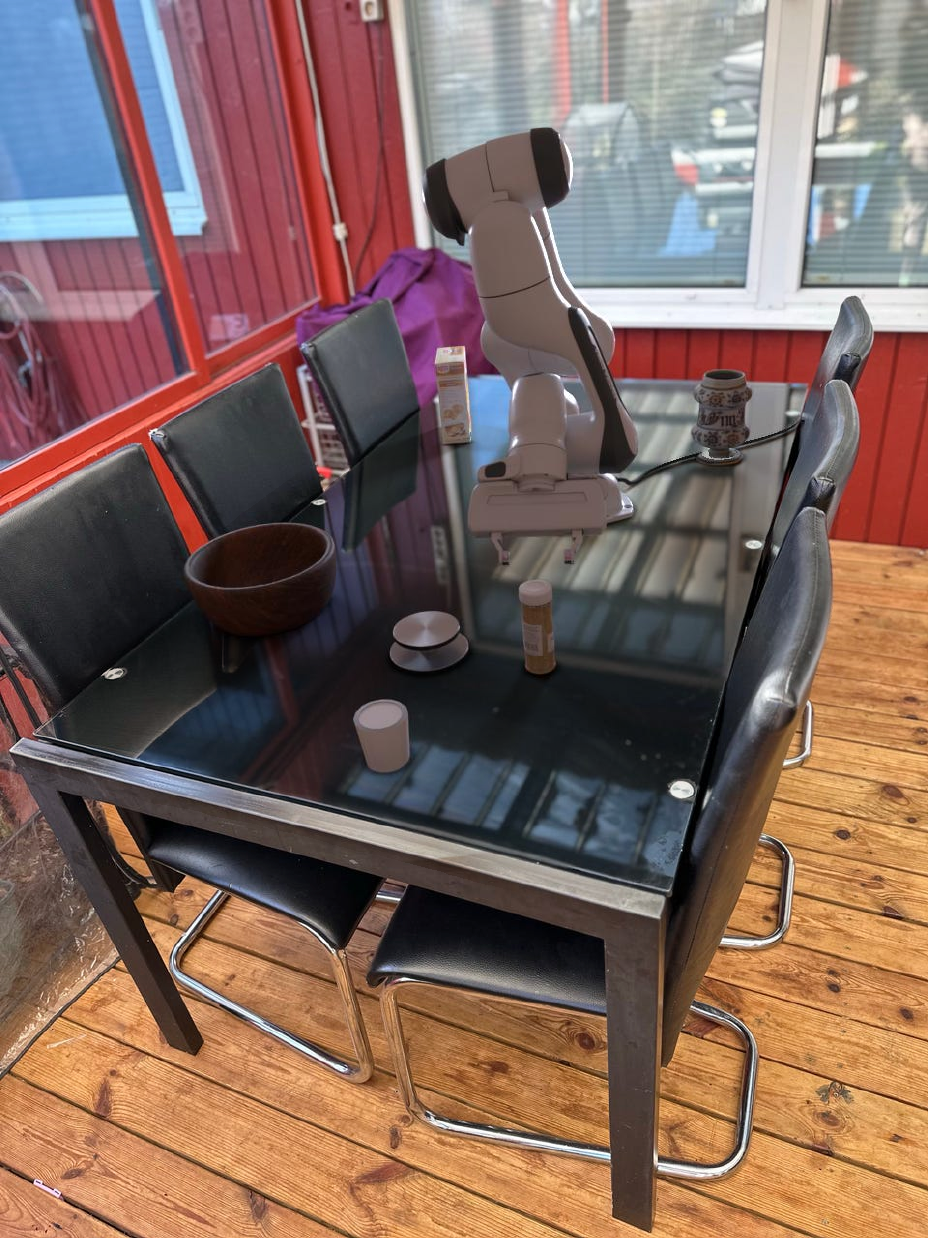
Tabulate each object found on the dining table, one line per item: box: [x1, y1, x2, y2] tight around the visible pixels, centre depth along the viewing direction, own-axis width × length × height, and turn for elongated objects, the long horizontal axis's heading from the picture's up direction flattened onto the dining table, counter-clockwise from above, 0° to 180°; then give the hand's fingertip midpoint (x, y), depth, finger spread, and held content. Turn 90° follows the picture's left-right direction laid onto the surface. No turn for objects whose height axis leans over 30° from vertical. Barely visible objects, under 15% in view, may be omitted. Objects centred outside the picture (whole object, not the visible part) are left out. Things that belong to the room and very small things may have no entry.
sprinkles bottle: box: [518, 579, 557, 675], centre depth 126 cm, size 5×5×13 cm
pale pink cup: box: [352, 699, 410, 773], centre depth 113 cm, size 7×7×7 cm
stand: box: [389, 610, 470, 676], centre depth 134 cm, size 12×12×4 cm
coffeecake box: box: [434, 345, 472, 445], centre depth 215 cm, size 15×7×20 cm, turn 179°
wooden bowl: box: [183, 522, 337, 637], centre depth 149 cm, size 25×25×10 cm
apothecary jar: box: [690, 368, 754, 466], centre depth 186 cm, size 12×12×18 cm
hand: (536, 563), depth 128 cm, fingers open, 8 cm apart
